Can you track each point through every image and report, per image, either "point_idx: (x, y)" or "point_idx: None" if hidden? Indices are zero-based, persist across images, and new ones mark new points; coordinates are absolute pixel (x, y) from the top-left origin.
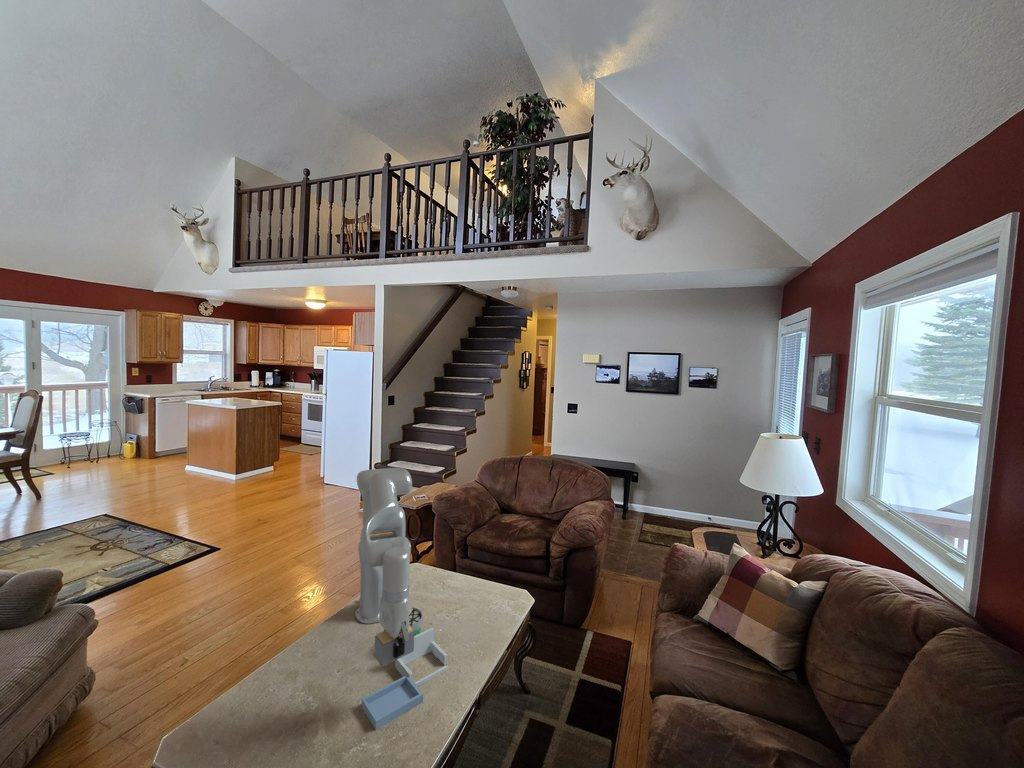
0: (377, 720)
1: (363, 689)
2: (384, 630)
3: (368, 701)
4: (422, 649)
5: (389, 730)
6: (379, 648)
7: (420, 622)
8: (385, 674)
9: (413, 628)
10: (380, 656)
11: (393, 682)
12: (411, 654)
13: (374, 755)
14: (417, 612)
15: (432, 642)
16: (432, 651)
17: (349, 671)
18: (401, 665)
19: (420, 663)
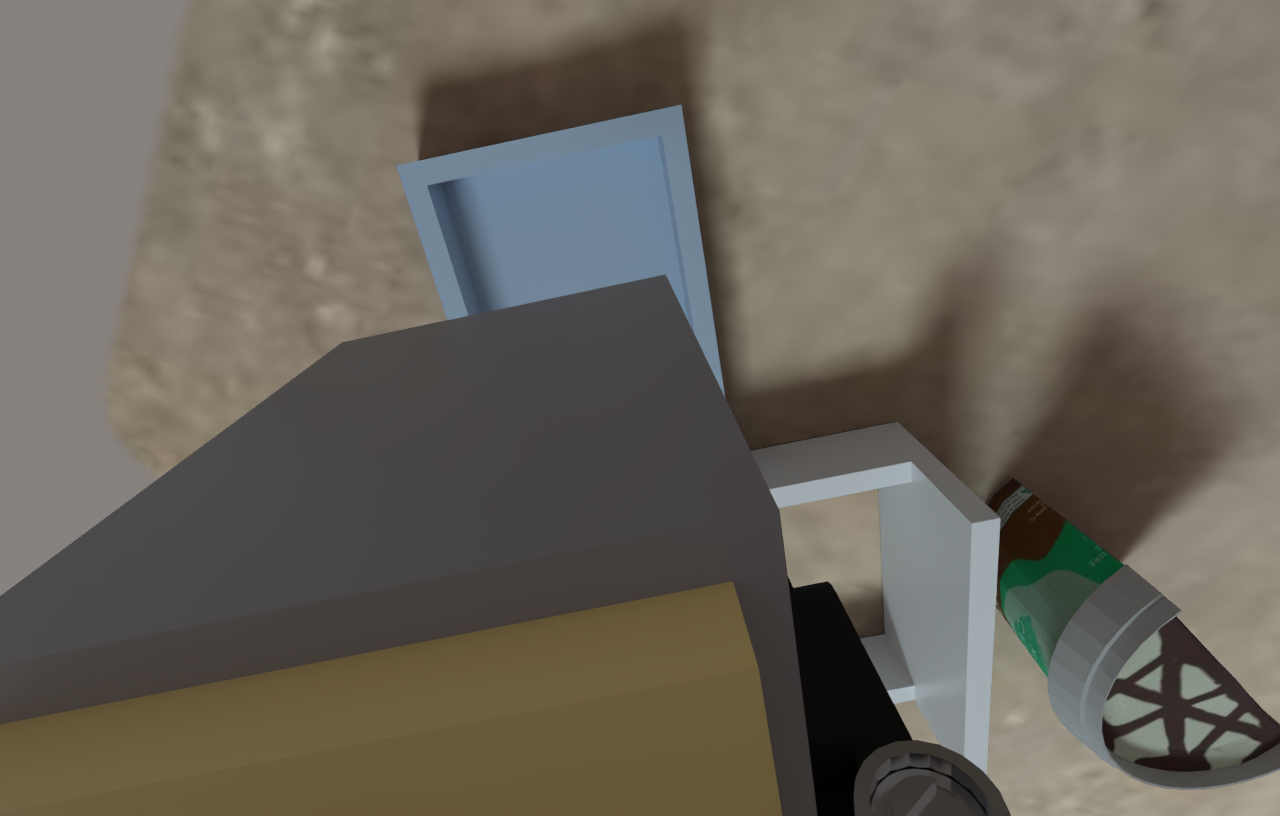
0: (402, 178)
1: (832, 164)
2: (974, 791)
3: (663, 164)
4: (903, 617)
5: (382, 252)
6: (340, 456)
7: (1091, 748)
8: (875, 347)
9: (1070, 687)
10: (353, 386)
11: (718, 381)
12: (902, 551)
13: (202, 100)
14: (1222, 756)
15: (907, 690)
16: (872, 645)
17: (1083, 96)
18: (833, 472)
19: (831, 561)
